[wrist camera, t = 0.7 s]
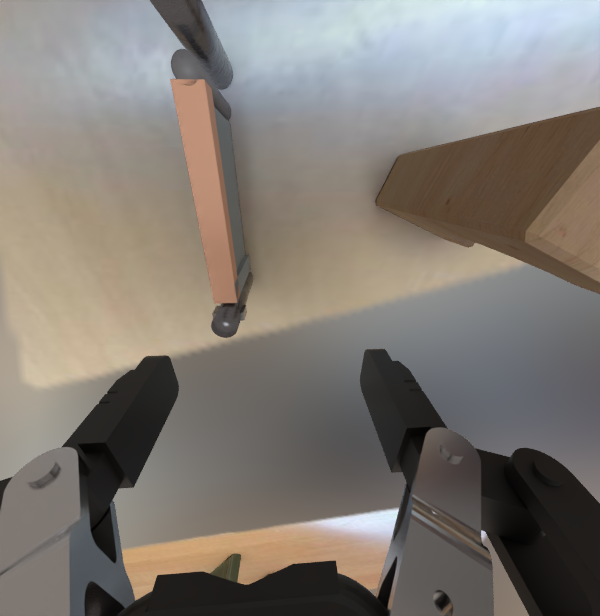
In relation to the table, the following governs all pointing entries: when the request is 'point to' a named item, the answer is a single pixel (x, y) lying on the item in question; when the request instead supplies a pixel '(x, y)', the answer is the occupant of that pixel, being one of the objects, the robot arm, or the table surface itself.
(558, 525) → the robot arm
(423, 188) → the decorative block
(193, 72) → the gate
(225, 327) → the gate frame
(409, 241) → the table surface
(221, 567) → the handheld radio
